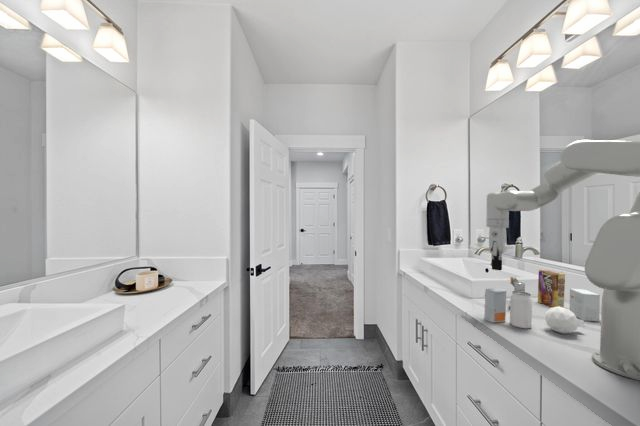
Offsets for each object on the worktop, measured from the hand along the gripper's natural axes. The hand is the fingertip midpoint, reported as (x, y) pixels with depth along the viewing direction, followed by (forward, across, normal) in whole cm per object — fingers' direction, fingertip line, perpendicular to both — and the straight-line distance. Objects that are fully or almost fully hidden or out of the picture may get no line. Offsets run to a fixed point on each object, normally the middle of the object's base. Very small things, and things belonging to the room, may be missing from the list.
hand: (496, 269), depth 111 cm
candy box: (+19, +34, -16) cm, 42 cm away
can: (+19, -3, -8) cm, 21 cm away
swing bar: (+11, +22, -4) cm, 25 cm away
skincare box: (+19, -4, 0) cm, 20 cm away
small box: (+19, +24, -26) cm, 41 cm away
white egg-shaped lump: (+19, 0, -21) cm, 28 cm away
